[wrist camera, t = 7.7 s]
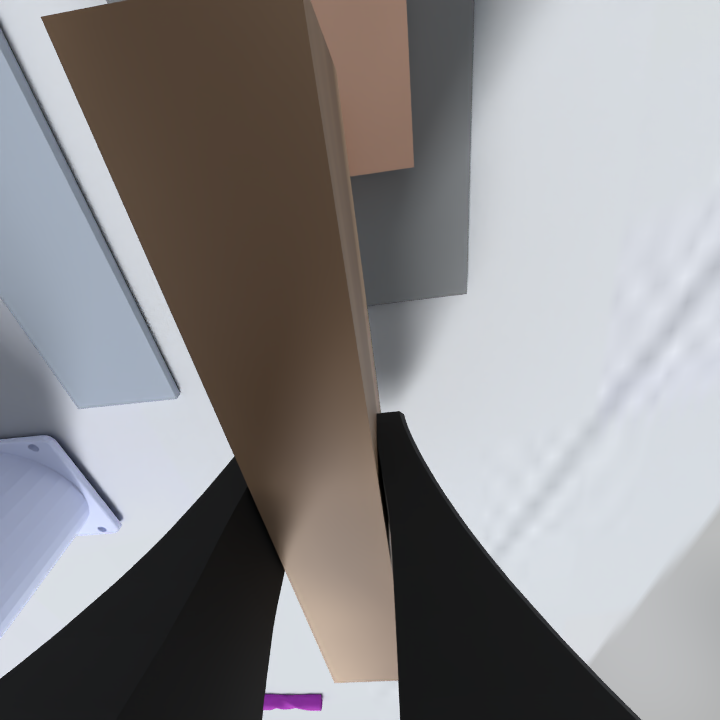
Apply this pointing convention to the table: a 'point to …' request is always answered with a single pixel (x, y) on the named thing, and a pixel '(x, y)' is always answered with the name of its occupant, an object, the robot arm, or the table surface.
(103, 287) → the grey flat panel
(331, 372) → the wooden plank
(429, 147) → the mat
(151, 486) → the table surface
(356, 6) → the tile
